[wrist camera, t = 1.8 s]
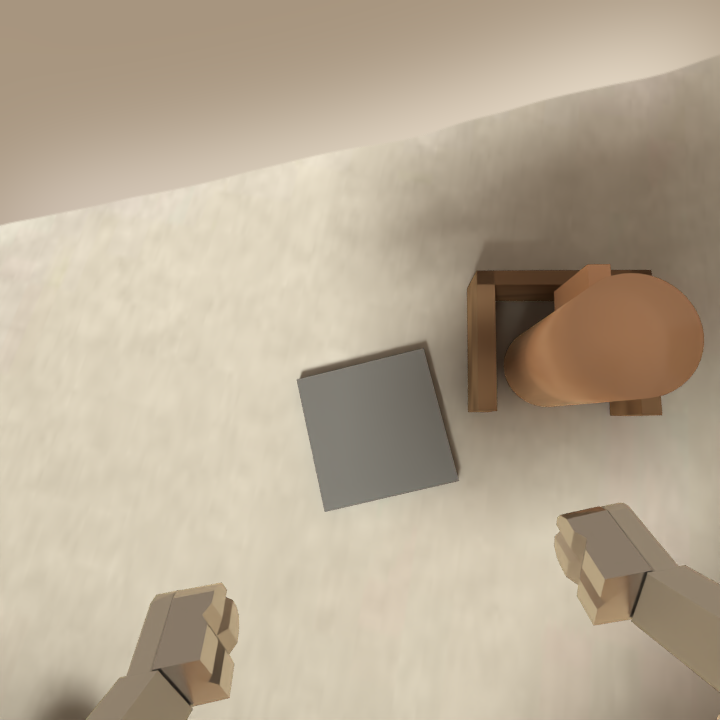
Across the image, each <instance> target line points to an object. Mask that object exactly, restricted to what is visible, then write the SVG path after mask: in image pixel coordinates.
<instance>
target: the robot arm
mask: <svg viewBox="0 0 720 720" xmlns="http://www.w3.org/2000/svg"><path fill="white" fill-rule="evenodd" d="M556 525H557V527H558V528H559V530H560V532H559V533H558V534H557V535H556V536H555V540H554V547H555V552H556V556H557V559H558V561H559V564H560V566H561V568H562V570H563V572H564V574H565V575H566V577H567V578H569V579H570V580H572V581H573V582H574V583H576V584H577V585H578V590H577V597H578V599H579V601H580V602H581V604H582V606H583V608H584V609H585V611H586V613H587V615H588V617H589V618H590V620H591V622H592V624H593V625H600V624H606V623H612V622H618V621H624V620H630V619H632V621H631V622H633V623H634V624H635V625H636V626H638V627H639V628H640V629H641V630H643V631H644V632H645V633H646V634H648V635H649V636H650V637H651V638H653V639H654V640H655V641H656V642H658V643H659V644H660V645H661V646H662V647H664V648H665V649H666V650H667V651H669V652H670V653H671V654H672V655H674V656H675V657H676V658H677V659H679V660H680V661H681V662H682V663H684V664H685V665H686V666H687V667H689V668H690V669H691V670H692V671H694V672H695V673H696V674H697V675H698V676H700V677H701V678H702V679H703V680H705V681H706V682H707V683H708V684H710V685H711V686H712V687H713V688H715V689H716V690H717V691H718V692H720V584H718V583H716V582H714V581H712V580H711V579H709V578H707V577H705V576H704V575H702V574H700V573H698V572H696V571H695V570H693V569H691V568H689V567H688V566H686V565H684V566H678V565H677V564H676V563H675V561H674V560H673V559H672V558H671V557H670V555H669V554H668V553H667V552H666V551H665V549H664V548H663V547H662V546H661V544H660V543H659V542H658V541H657V540H656V538H655V537H654V536H653V535H652V534H651V532H650V531H649V530H648V529H647V528H646V526H645V525H644V524H643V523H642V522H641V520H640V519H639V518H638V517H637V516H636V514H635V513H634V512H633V511H632V510H631V508H630V507H629V506H628V505H626V504H624V503H616V504H611V505H606V506H601V507H594V508H589V509H585V510H580V511H576V512H571V513H566V514H562V515H559V516H558V517H557V523H556ZM226 593H227V589H226V588H225V586H224V585H223V583H222V582H221V583H216V584H211V585H206V586H200V587H195V588H190V589H185V590H177V591H173V592H168V593H163V594H158V595H156V596H155V598H154V599H153V601H152V602H151V604H150V607H149V610H148V613H147V616H146V619H145V622H144V625H143V628H142V631H141V634H140V637H139V640H138V643H137V646H136V649H135V652H134V655H133V658H132V661H131V664H130V667H129V670H128V673H127V676H124V677H120V678H119V679H118V680H117V682H116V683H115V684H114V685H113V687H112V688H111V689H110V690H109V691H108V693H107V694H106V695H105V696H104V698H103V699H102V700H101V701H100V703H99V704H98V705H97V706H96V707H95V709H94V710H93V711H92V712H91V714H90V715H89V716H88V717H87V718H86V720H187V718H188V717H189V715H190V713H191V711H192V710H193V709H192V707H193V706H197V705H202V704H206V703H210V702H215V701H219V700H223V699H228V698H230V691H231V684H232V678H233V671H234V662H233V660H232V658H231V656H230V655H229V654H230V653H231V651H232V650H233V648H234V647H235V645H236V644H237V642H238V634H239V614H238V610H237V606H236V604H235V603H234V601H233V600H231V599H229V598H227V597H226ZM717 720H720V714H719V716H718V717H717Z"/></svg>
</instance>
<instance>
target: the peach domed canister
mask: <svg viewBox="0 0 720 720" xmlns="http://www.w3.org/2000/svg"><path fill="white" fill-rule="evenodd" d="M554 305H555V311H554V312H553V313H551V314H550V315H548V316H547V317H545V318H544V319H543V320H541V321H540V322H538V323H537V324H535V325H534V326H532V327H531V328H530V329H528V330H527V331H525V332H524V333H522V334H521V335H519V336H518V337H517V338H516V339H515V340H514V341H513V342H512V343H511V345H510V346H509V348H508V350H507V352H506V355H505V359H504V372H505V377H506V379H507V382H508V384H509V386H510V387H511V389H512V390H513V391H514V392H515V394H516V395H518V396H519V397H520V398H521V399H523V400H524V401H526V402H528V403H530V404H533V405H536V406H540V407H555V406H567V405H578V404H590V403H602V402H613V401H625V400H636V399H648V398H654V397H659V396H662V395H665V394H668V393H670V392H672V391H674V390H676V389H677V388H679V387H680V386H682V385H683V384H684V383H685V382H686V381H687V380H688V379H689V378H690V377H691V376H692V375H693V373H694V372H695V370H696V369H697V367H698V365H699V362H700V360H701V357H702V353H703V347H704V333H703V327H702V324H701V321H700V318H699V316H698V313H697V311H696V310H695V308H694V306H693V305H692V303H691V302H690V301H689V300H688V298H687V297H686V296H685V295H684V294H683V293H682V292H681V291H679V290H678V289H677V288H675V287H674V286H673V285H671V284H669V283H667V282H666V281H664V280H661V279H659V278H657V277H653V276H650V275H645V274H639V273H624V274H617V275H613V276H611V267H610V264H588V265H586V266H585V267H584V268H583V269H581V270H580V271H579V272H578V273H576V274H575V275H574V276H573V277H572V278H570V279H569V280H568V281H567V282H565V283H564V284H563V285H562V286H561V287H559V288H558V289H557V290H556V291H554Z"/></svg>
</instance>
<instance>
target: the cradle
mask: <svg viewBox="0 0 720 720" xmlns="http://www.w3.org/2000/svg"><path fill="white" fill-rule="evenodd" d="M579 271H580V270H530V271H476V273H475V275H474V277H473V279H472V281H471V282H470V284H469V286H468V288H467V342H468V412H491V411H497V373H496V320H495V301H554V291H556V290H557V289H558V288H559V287H561V286H562V285H563V284H564V283H565V282H567V281H568V280H569V279H570V278H572V277H573V276H574V275H575V274H576V273H578V272H579ZM624 273H639V274H645V275H650V276H652V273H651V270H611V276H613V275H617V274H624ZM609 403H610V415H611V416H647V415H662V405H661V396H659V397H654V398H648V399H636V400H625V401H613V402H609Z"/></svg>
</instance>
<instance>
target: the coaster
mask: <svg viewBox="0 0 720 720" xmlns="http://www.w3.org/2000/svg"><path fill="white" fill-rule="evenodd" d="M297 384H298V388H299V393H300V398H301V402H302V407H303V412H304V417H305V421H306V426H307V431H308V435H309V440H310V445H311V449H312V454H313V459H314V464H315V468H316V473H317V478H318V482H319V487H320V492H321V497H322V501H323V506H324V511H325V512H326V511H331V510H335V509H339V508H344V507H348V506H352V505H357V504H361V503H365V502H370V501H374V500H378V499H383V498H387V497H391V496H396V495H400V494H404V493H409V492H413V491H417V490H422V489H426V488H430V487H435V486H439V485H443V484H448V483H452V482H456V481H459V479H458V476H457V472H456V468H455V464H454V461H453V457H452V453H451V449H450V446H449V442H448V438H447V434H446V431H445V427H444V423H443V419H442V416H441V412H440V408H439V404H438V401H437V397H436V393H435V389H434V386H433V382H432V378H431V375H430V371H429V367H428V363H427V360H426V356H425V352H424V348H422V349H418V350H414V351H410V352H406V353H402V354H398V355H394V356H390V357H386V358H382V359H378V360H374V361H370V362H366V363H362V364H358V365H354V366H349V367H345V368H341V369H337V370H333V371H329V372H325V373H321V374H317V375H313V376H309V377H305V378H301V379H297Z"/></svg>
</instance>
